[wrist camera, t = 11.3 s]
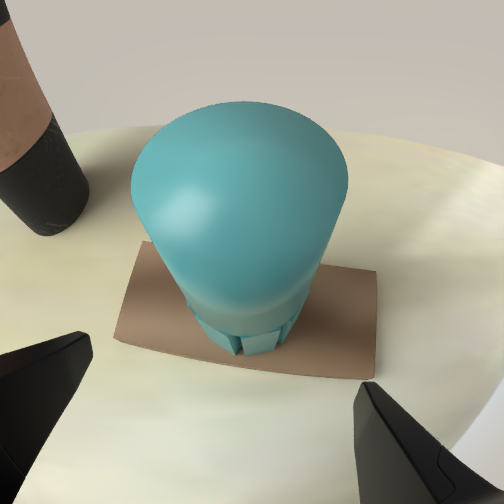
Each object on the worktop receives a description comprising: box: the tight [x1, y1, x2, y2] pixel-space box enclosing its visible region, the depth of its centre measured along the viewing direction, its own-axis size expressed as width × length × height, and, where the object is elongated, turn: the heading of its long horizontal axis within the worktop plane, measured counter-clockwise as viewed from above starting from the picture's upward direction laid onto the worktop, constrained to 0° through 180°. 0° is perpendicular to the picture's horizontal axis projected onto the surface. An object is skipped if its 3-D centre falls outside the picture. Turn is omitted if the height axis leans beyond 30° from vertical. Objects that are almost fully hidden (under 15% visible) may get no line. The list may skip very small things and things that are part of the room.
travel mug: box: [0, 0, 89, 236], centre depth 15 cm, size 8×8×20 cm
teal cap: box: [131, 102, 348, 357], centre depth 13 cm, size 6×6×12 cm
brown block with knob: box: [113, 241, 377, 380], centre depth 17 cm, size 7×16×4 cm, turn 81°
